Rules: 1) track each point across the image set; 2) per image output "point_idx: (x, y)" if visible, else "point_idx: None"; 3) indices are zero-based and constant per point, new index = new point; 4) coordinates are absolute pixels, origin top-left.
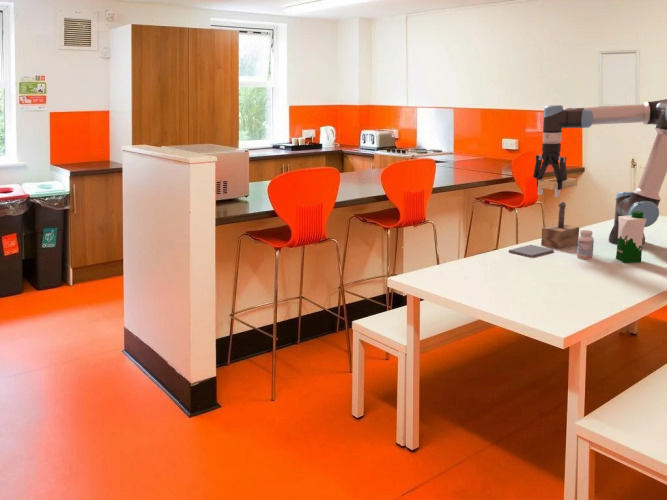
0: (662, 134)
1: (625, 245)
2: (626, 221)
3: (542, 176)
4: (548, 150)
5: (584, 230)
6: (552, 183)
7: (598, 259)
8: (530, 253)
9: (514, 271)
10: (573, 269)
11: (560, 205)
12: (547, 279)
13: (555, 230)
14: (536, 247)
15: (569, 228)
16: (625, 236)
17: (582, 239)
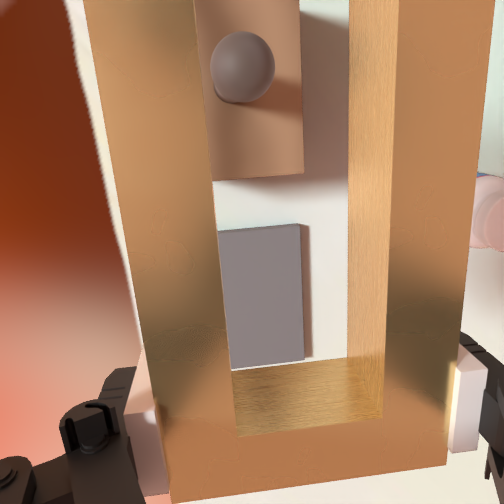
0: None
1: None
2: None
3: (132, 474)
4: None
5: (496, 214)
6: (406, 458)
7: (485, 172)
8: (283, 345)
9: (375, 493)
10: (486, 349)
11: (249, 101)
12: (484, 473)
13: (264, 176)
14: (227, 256)
15: (282, 63)
16: None
17: (487, 247)
